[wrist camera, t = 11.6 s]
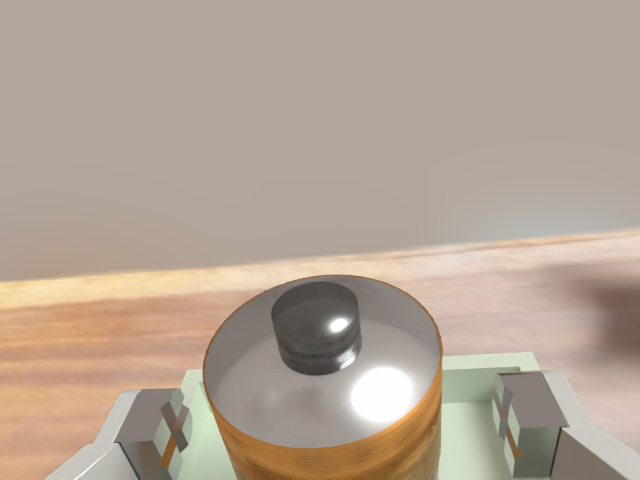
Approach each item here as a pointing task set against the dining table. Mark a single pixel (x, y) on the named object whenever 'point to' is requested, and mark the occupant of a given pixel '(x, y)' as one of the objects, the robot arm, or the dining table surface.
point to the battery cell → (328, 383)
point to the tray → (456, 422)
